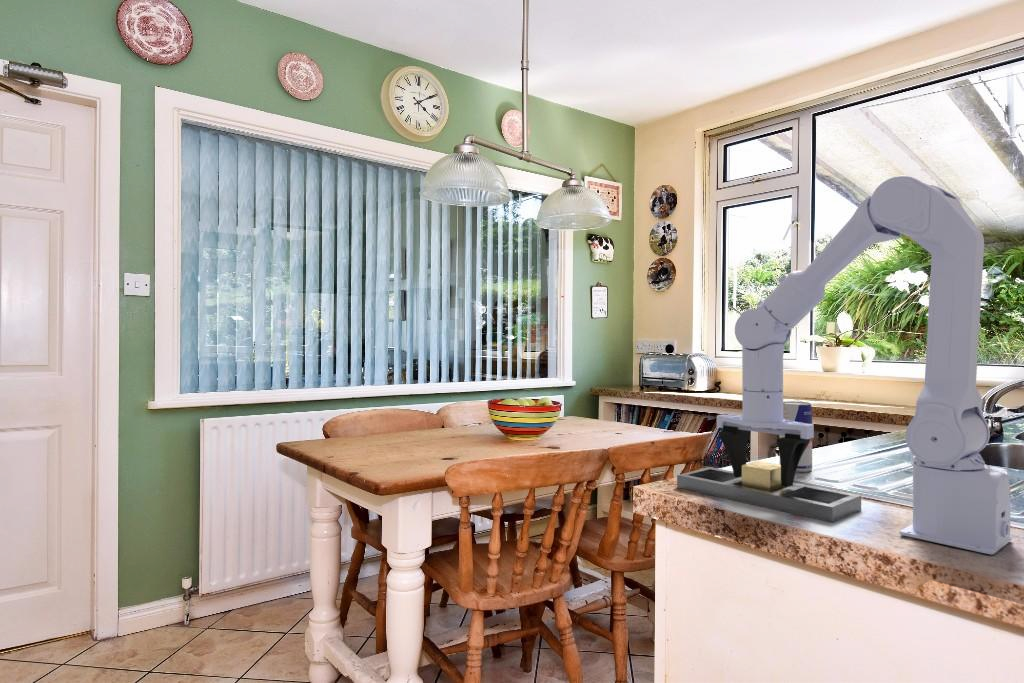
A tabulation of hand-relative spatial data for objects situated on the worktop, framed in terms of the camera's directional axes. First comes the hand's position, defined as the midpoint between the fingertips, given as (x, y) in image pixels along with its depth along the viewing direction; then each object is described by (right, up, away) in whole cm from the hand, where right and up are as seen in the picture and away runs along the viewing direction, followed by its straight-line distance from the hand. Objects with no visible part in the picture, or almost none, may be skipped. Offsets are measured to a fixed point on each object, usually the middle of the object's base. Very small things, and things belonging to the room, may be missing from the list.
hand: (762, 480), depth 96 cm
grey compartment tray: (0, -3, 0) cm, 3 cm away
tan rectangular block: (0, -3, 0) cm, 3 cm away
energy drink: (+13, -2, +19) cm, 23 cm away
